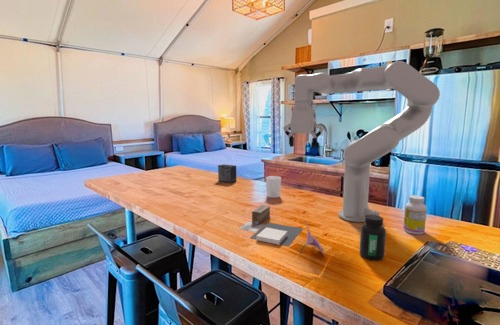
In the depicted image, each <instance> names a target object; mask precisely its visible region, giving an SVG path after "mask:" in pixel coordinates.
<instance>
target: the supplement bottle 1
mask: <svg viewBox="0 0 500 325" xmlns="http://www.w3.org/2000/svg"><path fill="white" fill-rule="evenodd" d="M386 239H387V229H386V228H385V227H384V218H383V217H382V216H380V215H379V216H377V215H366V216H365V222H364V223H363V224H362V225H361V227H360V237H359V255H360V256H361V257H362V258H363V257H364V258H363V259H365V258H366V259H365V260H368V259H369V260H368V261H372V260H375V261H374V262H379V261H378V260H380V261H382V260H383V259H384V258H385V251H386Z"/></svg>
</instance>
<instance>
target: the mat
mask: <svg viewBox="0 0 500 325" xmlns="http://www.w3.org/2000/svg"><path fill="white" fill-rule="evenodd" d="M266 227H267V228H272V229H277V230H283V231H287V237H286V238H285V239H284V240H283V241H282V242H281V243H280V244H279V245H280V246H284V247H290V246H291V245H292V243H293V242H294V241H295V240H296V239H297V237H298V236H299V235H300V234H301V232H303V230H304V228H303V227H302V228H301V227H296V226H291V225H285V224H279V223H274V222H269V221H268V222H267V223H266V224H265V225H264V226H263V227H261V228H260V229H259V230H258V231H256V232H254V233H253V235H251V236H250V237H249V239H252V240H256V236H257V235H258V234H259V233H260V232H262V231H263V230H264V229H265V228H266ZM279 245H278V246H279Z"/></svg>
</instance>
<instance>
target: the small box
mask: <svg viewBox="0 0 500 325" xmlns="http://www.w3.org/2000/svg"><path fill="white" fill-rule="evenodd" d="M217 167H218V169H217V172H218V173H217V174H218V175H217V176H218V179H217V180H218V182H222V183H229V184H232V183H235V182H237V165H233V164H225V163H224V164H219V165H217Z"/></svg>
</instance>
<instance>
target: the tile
mask: <svg viewBox="0 0 500 325" xmlns="http://www.w3.org/2000/svg"><path fill="white" fill-rule="evenodd" d="M286 237H287V231H283V230H277V229H272V228H267V227H266V228H265V229H264V230H263V231H262V232H260V233H259V234H258V235H257V236H256V239H255V241H260V242H263V243H268V244H272V245H273V244H274V245H278V246H279V244H280V243H281V242H282V241H283V240H284V239H285V238H286Z"/></svg>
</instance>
